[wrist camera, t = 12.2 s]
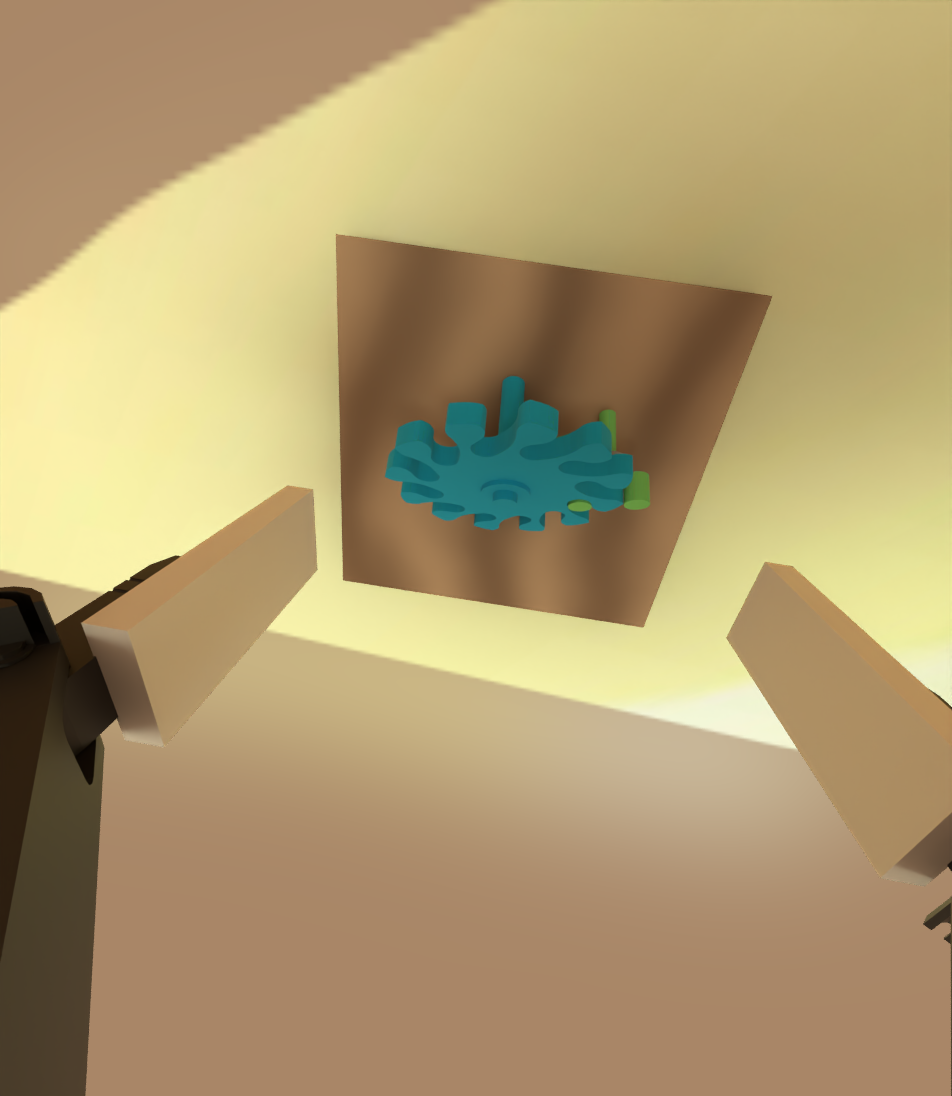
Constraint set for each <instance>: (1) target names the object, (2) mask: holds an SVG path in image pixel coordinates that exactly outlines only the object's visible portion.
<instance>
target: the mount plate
mask: <svg viewBox="0 0 952 1096" xmlns="http://www.w3.org/2000/svg"><path fill="white" fill-rule="evenodd" d="M336 258H337V306H338V355H339V403H340V452H341V501H342V549H343V580H345V581H351V582H357V583H364V584H370V585H377V586H383V587H389V588H396V589H402V590H408V591H415V592H421V593H427V594H434V595H440V596H447V597H453V598H459V599H466V600H472V601H478V602H485V603H491V604H498V605H504V606H510V607H517V608H523V609H529V610H536V611H542V612H548V613H555V614H561V615H568V616H574V617H580V618H587V619H593V620H599V621H606V622H612V623H619V624H625V625H631V626H638V627H644V624H645V622H646V619H647V617H648V614H649V611H650V609H651V606H652V604H653V601H654V599H655V596H656V593H657V591H658V588H659V586H660V583H661V581H662V578H663V576H664V573H665V570H666V568H667V565H668V563H669V560H670V558H671V555H672V552H673V550H674V547H675V545H676V542H677V540H678V537H679V534H680V532H681V529H682V527H683V524H684V522H685V519H686V517H687V514H688V511H689V509H690V506H691V504H692V501H693V499H694V496H695V493H696V491H697V488H698V486H699V483H700V481H701V478H702V475H703V473H704V470H705V468H706V465H707V463H708V460H709V458H710V455H711V452H712V450H713V447H714V445H715V442H716V440H717V437H718V434H719V432H720V429H721V427H722V424H723V422H724V419H725V416H726V414H727V411H728V409H729V406H730V404H731V401H732V398H733V396H734V393H735V391H736V388H737V386H738V383H739V381H740V378H741V375H742V373H743V370H744V368H745V365H746V363H747V360H748V357H749V355H750V352H751V350H752V347H753V345H754V342H755V339H756V337H757V334H758V332H759V329H760V327H761V324H762V322H763V319H764V316H765V314H766V311H767V309H768V306H769V304H770V301H771V298H772V296H768V295H761V294H754V293H747V292H740V291H733V290H726V289H718V288H711V287H704V286H697V285H690V284H683V283H676V282H669V281H662V280H655V279H648V278H641V277H634V276H627V275H620V274H613V273H606V272H599V271H592V270H584V269H577V268H570V267H563V266H556V265H549V264H542V263H535V262H528V261H521V260H514V259H507V258H500V257H493V256H486V255H479V254H472V253H465V252H457V251H450V250H443V249H436V248H429V247H422V246H415V245H408V244H401V243H394V242H387V241H380V240H373V239H366V238H359V237H352V236H345V235H338V234H336ZM510 376H517V377H520V378H522V379H523V380H524V382H525V391H524V402H525V401H528V400H534V401H538V402H541V403H544V404H547V405H549V406H551V407H553V408H555V409H556V410H558V411H559V418H558V435H557V437H560V436H564V435H567V434H569V433H571V432H573V431H575V430H577V429H578V428H580V427H581V426H583V425H585V424H587V423H590V422H596V421H599V414H600V412H602V411H604V410H613V411H615V412H616V451H618V452H621V453H623V454H629V455H632V456H633V472H634V471H642V472H646V473H648V474H649V488H650V505H649V506H648V507H647V508H644V509H639V510H632V509H627V508H625V507H624V489H623V505H621V506H619V507H617V508H615V509H613V510H610V511H606V512H602V511H597V510H595V509H593V508H591V509H590V510H589V523H585V524H579V525H568V526H567V525H564V524H562V523H561V512H557V511H550V512H546V513H545V529H544V530H543V531H525V530H520V529H519V519H520V516H514V517H511V518H508V519H505V520H503V521H502V522H501V523H500V524H499V528H498V529H496V530H488V529H484V528H480V527H476V526H474V517H475V514H468V515H463V516H460V517H458V518H457V519H455V520H451V521H445V520H442V519H440V518H438V517H436V516H435V515H433V514H432V505H433V502H427V503H421V504H411V503H406V502H405V501H404V500H403V498H402V497H401V488H402V482H399V481H394V480H390V479H388V478H386V477H385V473H386V467H387V461H388V456H389V454H390V452H391V451H392V450H393V449H394V448H395V444H396V438H397V432H398V427H400V426H402V425H404V424H406V423H409V422H412V421H417V420H422V421H425V422H427V423H429V424H430V425H431V426H432V427H433V429H434V437H433V438H434V441H435V442H436V443H438V444H440V445H442V446H446V447H453V446H457V444H456V443H455V442H454V441H453V440H452V439H451V438H450V437H449V436H448V435H447V434H446V432H445V424H446V416H447V408H448V405H449V403H455V402H473V403H480V404H483V405H484V406H485V407H486V409H487V416H486V427H485V435H484V437H494V436H497V435H498V430H499V418H500V406H501V394H502V383H503V380H504V379H505V378H507V377H510ZM557 437H556V438H557Z"/></svg>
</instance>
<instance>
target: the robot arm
mask: <svg viewBox="0 0 952 1096" xmlns="http://www.w3.org/2000/svg"><path fill="white" fill-rule="evenodd" d="M316 571H317V555H316V536H315V517H314V497H313V489H307V488H300V487H294V486H286V487H285V488H283V489H282V490H280V491H279V492H277V493H276V494H274V495H273V496H271V497H270V498H268V499H267V500H265V501H264V502H262V503H261V504H259V505H258V506H256V507H255V508H253V509H252V510H250V511H249V512H247V513H246V514H244V515H243V516H241V517H240V518H238V519H237V520H235V521H234V522H232V523H231V524H229V525H228V526H226V527H225V528H223V529H222V530H220V531H219V532H217V533H216V534H214V535H213V536H211V537H210V538H208V539H207V540H205V541H204V542H202V543H201V544H199V545H198V546H196V547H195V548H193V549H192V550H190V551H189V552H187V553H186V554H184V555H182V556H173V557H170V558H168V559H165V560H162V561H159V562H157V563H154V564H151V565H149V566H148V567H146V568H144V569H143V570H141V571H140V572H138V573H137V574H135V575H133V576H132V577H130V580H126V581H124V582H122V583H121V584H119V585H118V586H116V587H114V588H113V591H108V592H107V593H105V594H103V595H102V596H100V597H99V598H97V599H96V600H94V601H92V602H91V603H89V604H88V605H86V606H84V607H83V608H81V609H80V610H78V611H77V612H75V613H73V614H72V615H70V616H69V617H67V618H66V619H64V620H62V621H61V622H59V623H58V624H56V625H54V622H53V620H52V618H51V615H50V613H49V610H48V608H47V605H46V603H45V601H44V598H43V596H42V593H40V592H38V591H36V590H34V589H32V588H25V587H24V588H23V587H4V588H0V1096H85V1091H86V1073H87V1054H88V1035H89V1018H90V999H91V981H92V963H93V961H92V960H93V943H94V926H95V925H94V924H95V908H96V889H97V871H98V870H97V869H98V852H99V833H100V816H101V798H102V779H103V760H104V745H103V742H102V739H101V736H100V734H101V733H102V732H103V731H104V730H105V729H106V728H107V727H108V726H109V725H110V724H111V723H112V722H113V721H114V720H115V719H117V720H118V722H119V725H120V728H121V730H122V733H123V736H124V738H125V740H128V741H133V742H139V743H144V744H150V745H155V746H160V747H165V746H166V745H167V744H168V743H169V741H170V740H171V739H172V738H173V737H174V736H175V734H176V733H177V732H178V731H179V730H180V729H181V728H182V726H183V725H184V724H185V723H186V722H187V721H188V719H189V718H190V717H191V716H192V715H193V714H194V712H195V711H196V710H197V709H198V708H199V707H200V705H201V704H202V703H203V702H204V701H205V699H206V698H207V697H208V696H209V695H210V694H211V693H212V691H213V690H214V689H215V688H216V687H217V686H218V685H219V683H220V682H221V681H222V680H223V679H224V678H225V676H226V675H227V674H228V673H229V672H230V671H231V669H232V668H233V667H234V666H235V665H236V664H237V662H238V661H239V660H240V659H241V658H242V657H243V655H244V654H245V653H246V652H247V651H248V650H249V648H250V647H251V646H252V645H253V644H254V643H255V642H256V640H257V639H258V638H259V637H260V636H261V634H262V633H263V632H264V631H265V630H266V629H267V628H268V626H269V625H270V624H271V623H272V622H273V621H274V619H275V618H276V617H277V616H278V615H279V614H280V613H281V611H282V610H283V609H284V608H285V607H286V606H287V604H288V603H289V602H290V601H291V600H292V599H293V597H294V596H295V595H296V594H297V593H298V592H299V590H300V589H301V588H302V587H303V586H304V585H305V583H306V582H307V581H308V580H309V579H310V578H311V576H312V575H313V574H314V573H315V572H316ZM727 640H728V641H729V643H730V644H731V646H732V647H733V649H734V651H735V652H736V654H737V655H738V657H739V658H740V660H741V662H742V663H743V665H744V666H745V668H746V669H747V671H748V672H749V674H750V676H751V677H752V679H753V680H754V682H755V683H756V685H757V687H758V688H759V690H760V691H761V693H762V694H763V696H764V697H765V699H766V701H767V702H768V704H769V705H770V707H771V708H772V710H773V711H774V713H775V715H776V716H777V718H778V719H779V721H780V722H781V724H782V726H783V727H784V729H785V730H786V732H787V733H788V735H789V736H790V738H791V740H792V741H793V743H794V744H795V746H796V747H797V749H798V751H799V752H800V754H801V755H802V757H803V758H804V760H805V761H806V763H807V765H808V766H809V768H810V769H811V771H812V772H813V774H814V775H815V777H816V778H817V780H818V781H819V783H820V785H821V786H822V788H823V790H824V791H825V793H826V794H827V796H828V797H829V799H830V800H831V802H832V804H833V805H834V807H835V808H836V810H837V811H838V813H839V814H840V816H841V818H842V819H843V821H844V822H845V824H846V825H847V827H848V829H849V830H850V831H851V833H852V835H853V836H854V838H855V839H856V841H857V843H858V844H859V846H860V847H861V849H862V850H863V852H864V853H865V855H866V857H867V858H868V860H869V861H870V863H871V864H872V866H873V867H874V869H875V871H876V872H877V874H878V875H879V877H880V878H882V879H887V880H893V881H898V882H903V883H909V884H914V885H920V886H926V885H927V884H928V883H929V882H931V881H932V880H933V879H934V878H935V877H937V876H938V875H939V874H940V873H941V872H942V871H944V870H945V869H946V868H947V867H949V869H950V870H951V871H952V707H951V706H950V705H949V704H948V703H947V702H946V701H944V700H943V699H942V698H941V697H940V696H939V695H937V694H936V693H934V692H933V691H931V690H930V689H928V688H927V687H925V686H924V685H923V684H922V683H921V682H920V681H919V680H918V679H917V678H915V677H914V676H913V675H912V674H911V673H910V672H909V671H908V670H907V669H906V668H904V667H903V666H902V665H901V664H900V663H899V662H898V661H897V660H896V659H894V658H893V657H892V656H891V655H890V654H889V653H888V652H887V651H886V650H884V649H883V648H882V647H881V646H880V645H879V644H878V643H877V642H876V641H875V640H873V639H872V638H871V637H870V636H869V635H868V634H867V633H866V632H865V631H863V630H862V629H861V628H860V627H859V626H858V625H857V624H856V623H855V622H853V621H852V620H851V619H850V618H849V617H848V616H847V615H846V614H845V613H844V612H842V611H841V610H840V609H839V608H838V607H837V606H836V605H835V604H834V603H832V602H831V601H830V600H829V599H828V598H827V597H826V596H825V595H824V594H822V593H821V592H820V591H819V590H818V589H817V588H816V587H815V586H814V585H813V584H811V583H810V582H809V581H808V580H807V579H806V578H805V577H804V576H803V575H801V574H800V573H799V572H798V571H797V570H796V569H795V568H794V567H793V566H787V565H781V564H775V563H769V562H765V563H764V565H763V567H762V569H761V571H760V573H759V575H758V577H757V579H756V581H755V583H754V585H753V587H752V588H751V590H750V592H749V594H748V596H747V598H746V600H745V602H744V604H743V606H742V608H741V610H740V612H739V614H738V616H737V618H736V620H735V622H734V624H733V626H732V628H731V630H730V632H729V634H728V636H727ZM942 922H948V923H950V924H951V933H949V934H948V935H947V936H945V937H944V940H946V941H947V942H949V943H950V944H951V1096H952V897H951V898H949V899H948V900H947V901H945V902H944V903H943V904H942V905H940V906H939V907H938V908H936V909H935V910H934V911H933V912H931V913H930V914H929V915H928V916H927V917H926V919H925V921H924V923H923V924H924V925H925V926H926V927H928V928H929V929H931V930H932V929H934V928H935V927H936V926H938V925H939V924H940V923H942Z"/></svg>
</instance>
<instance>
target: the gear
mask: <svg viewBox="0 0 952 1096" xmlns="http://www.w3.org/2000/svg"><path fill="white" fill-rule="evenodd" d="M524 391H525V382H524V380H523V379H522V378H520V377H517V376H510V377H507V378H505V379H504V380H503V383H502V394H501V406H500V418H499V430H498V435H497V436H494V437H484V435H485V427H486V416H487V409H486V407H485V406H484V405H483V404H480V403H473V402H455V403H449V405H448V408H447V416H446V424H445V432H446V434H447V435H448V436H449V437H450V438H451V439H452V440H453V441H454V442H455V443H456V444H457V446H453V447H446V446H442V445H440V444H438V443H436V442H435V441H434V438H433V437H434V429H433V427H432V426H431V425H430V424H429V423H427V422H425V421H422V420H417V421H412V422H409V423H406V424H404V425H402V426H400V427H398V432H397V438H396V444H395V448H394V449H393V450H392V451H391V452H390V454H389V456H388V461H387V467H386V473H385V477H386V478H388V479H390V480H394V481H399V482H402V488H401V497H402V498H403V500H404V501H405V502H406V503H411V504H421V503H427V502H433V505H432V514H433V515H435V516H436V517H438V518H440V519H442V520H445V521H451V520H455V519H457V518H458V517H460V516H463V515H468V514H475V517H474V526H476V527H480V528H484V529H488V530H496V529H498V528H499V524H500V523H501V522H502V521H503V520H505V519H508V518H511V517H514V516H520V519H519V529H520V530H525V531H543V530H544V529H545V513H546V512H550V511H557V512H561V523H562V524H564V525H567V526H568V525H579V524H585V523H589V510H590V509H591V508H593V509H595V510H597V511H602V512H606V511H610V510H613V509H615V508H617V507H619V506H621V505H623V489H624V507H625V508H627V509H632V510H639V509H644V508H647V507H648V506H649V505H650V488H649V474H648V473H646V472H642V471H634V472H633V456H632V455H629V454H623V453H621V452H618V451H616V412H615V411H613V410H604V411H602V412H600V414H599V421H596V422H590V423H587V424H585V425H583V426H581V427H580V428H578V429H577V430H575V431H573V432H571V433H569V434H567V435H564V436H560V437H557V435H558V418H559V411H558V410H556V409H555V408H553V407H551V406H549V405H547V404H544V403H541V402H538V401H534V400H528V401H525V402H524ZM556 437H557V438H556Z"/></svg>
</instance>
